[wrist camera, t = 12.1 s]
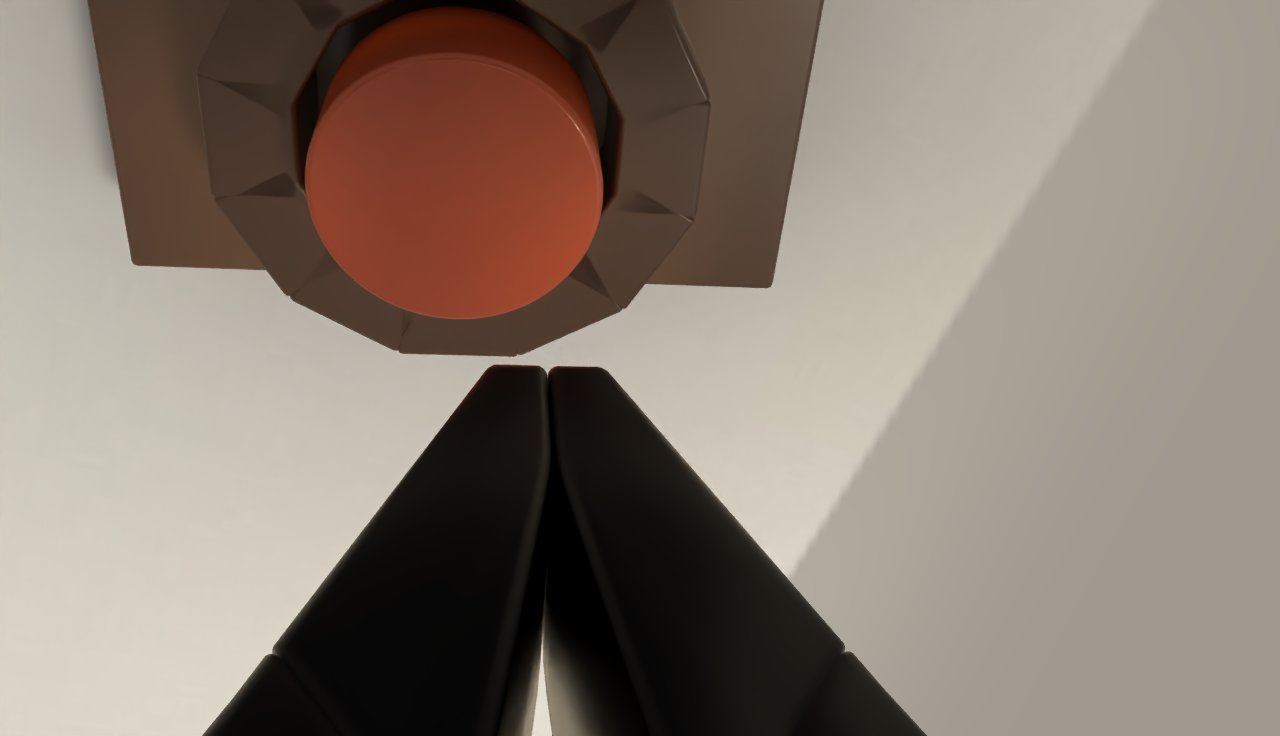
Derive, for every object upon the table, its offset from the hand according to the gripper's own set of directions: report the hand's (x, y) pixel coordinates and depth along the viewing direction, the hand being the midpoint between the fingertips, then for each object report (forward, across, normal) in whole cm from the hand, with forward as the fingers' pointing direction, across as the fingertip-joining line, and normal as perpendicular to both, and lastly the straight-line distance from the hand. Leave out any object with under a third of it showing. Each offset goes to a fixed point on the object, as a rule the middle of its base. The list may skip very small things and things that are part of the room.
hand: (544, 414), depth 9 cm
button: (+8, +1, +1) cm, 8 cm away
